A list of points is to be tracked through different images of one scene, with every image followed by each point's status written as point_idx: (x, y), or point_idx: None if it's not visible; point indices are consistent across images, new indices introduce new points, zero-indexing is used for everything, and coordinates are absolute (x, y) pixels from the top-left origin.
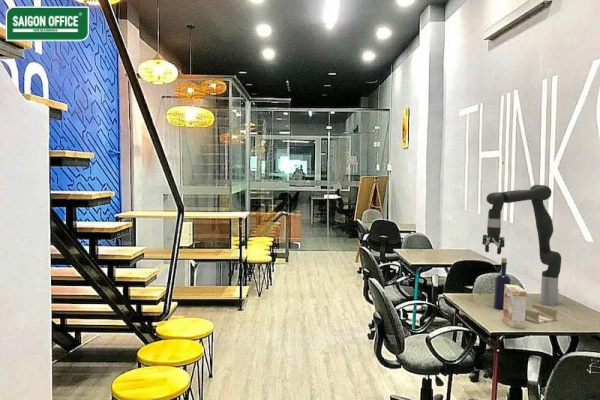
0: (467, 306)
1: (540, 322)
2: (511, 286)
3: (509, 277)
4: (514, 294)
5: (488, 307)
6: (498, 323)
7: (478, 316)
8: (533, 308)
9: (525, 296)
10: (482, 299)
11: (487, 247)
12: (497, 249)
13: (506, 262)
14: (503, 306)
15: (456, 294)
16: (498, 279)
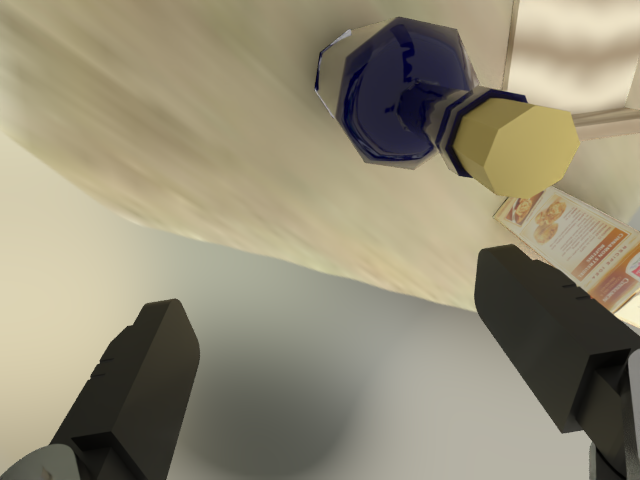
0: (281, 230)
1: (624, 92)
2: None
3: (458, 51)
4: None
5: (320, 140)
6: None
7: (421, 277)
8: None
9: None
10: (141, 35)
11: (160, 432)
12: (543, 393)
13: (514, 97)
14: (526, 244)
15: (7, 124)
16: (411, 168)
